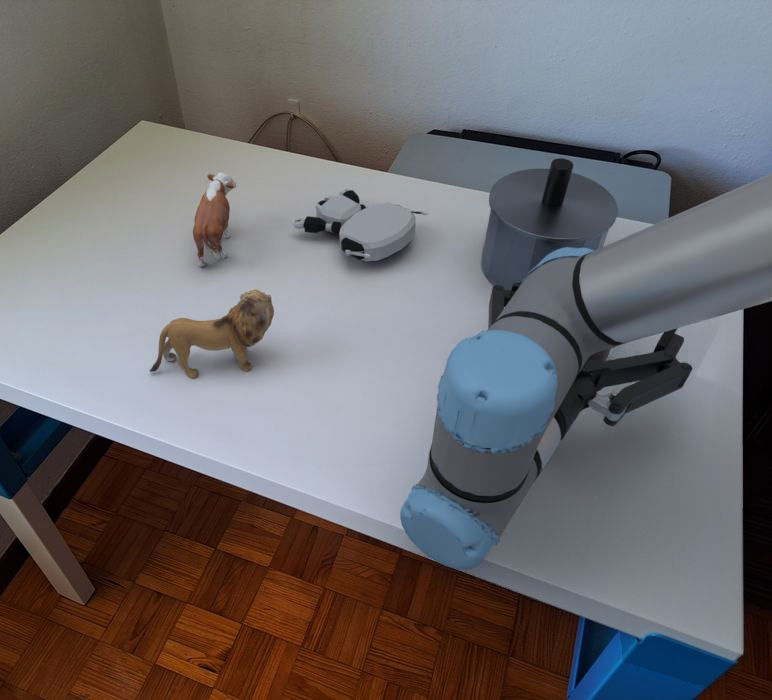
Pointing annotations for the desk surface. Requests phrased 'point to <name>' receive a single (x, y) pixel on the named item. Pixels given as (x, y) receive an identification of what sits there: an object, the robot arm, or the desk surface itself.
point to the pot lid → (553, 204)
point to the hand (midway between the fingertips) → (612, 291)
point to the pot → (519, 252)
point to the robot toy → (363, 225)
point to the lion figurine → (219, 332)
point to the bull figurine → (213, 217)
